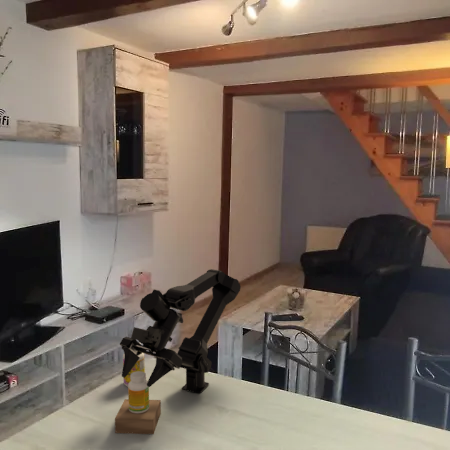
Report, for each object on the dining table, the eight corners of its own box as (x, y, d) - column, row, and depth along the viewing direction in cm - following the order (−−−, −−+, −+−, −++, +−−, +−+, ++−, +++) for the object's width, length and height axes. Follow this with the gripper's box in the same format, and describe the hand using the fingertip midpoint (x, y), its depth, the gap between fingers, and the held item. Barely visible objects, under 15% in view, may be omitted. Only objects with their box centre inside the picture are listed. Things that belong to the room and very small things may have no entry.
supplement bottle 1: (119, 386, 149) (118, 346, 147) (131, 377, 155) (130, 339, 153) (137, 390, 146) (136, 349, 144) (149, 380, 152) (148, 342, 151)
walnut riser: (125, 412, 133) (124, 399, 132) (160, 413, 132) (160, 400, 132) (115, 433, 123) (114, 418, 123) (153, 434, 123) (153, 419, 122)
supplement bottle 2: (149, 413, 125) (148, 378, 124) (128, 414, 124) (127, 379, 123) (149, 403, 130) (148, 369, 129) (129, 404, 130) (128, 370, 128)
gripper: (123, 308, 133) (93, 360, 125) (174, 321, 122) (145, 378, 115) (144, 327, 140) (117, 377, 133) (194, 341, 130) (167, 396, 122)
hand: (135, 381), depth 125 cm, fingers open, 9 cm apart
